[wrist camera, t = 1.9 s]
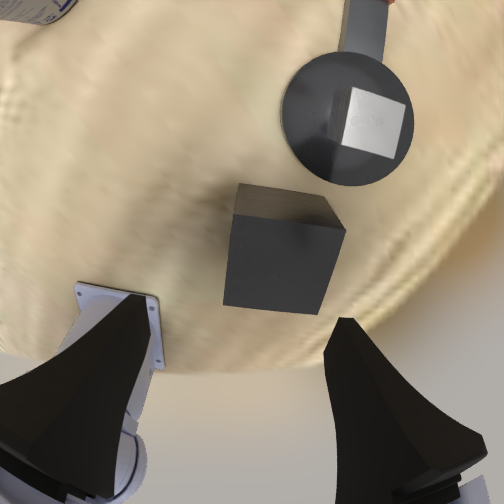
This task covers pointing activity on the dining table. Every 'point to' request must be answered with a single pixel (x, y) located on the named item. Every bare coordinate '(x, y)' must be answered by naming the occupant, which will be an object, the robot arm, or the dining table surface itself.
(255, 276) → the dark grey brushed cube
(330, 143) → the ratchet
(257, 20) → the dining table surface
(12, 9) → the energy drink
